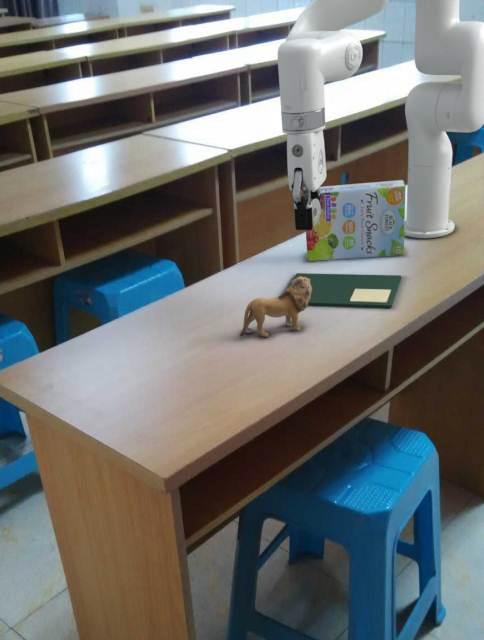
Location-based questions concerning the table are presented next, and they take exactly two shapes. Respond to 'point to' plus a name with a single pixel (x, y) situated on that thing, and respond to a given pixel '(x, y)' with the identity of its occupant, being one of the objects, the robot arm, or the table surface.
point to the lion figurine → (279, 306)
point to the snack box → (359, 221)
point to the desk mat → (352, 289)
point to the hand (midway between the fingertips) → (308, 222)
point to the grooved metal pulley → (315, 210)
